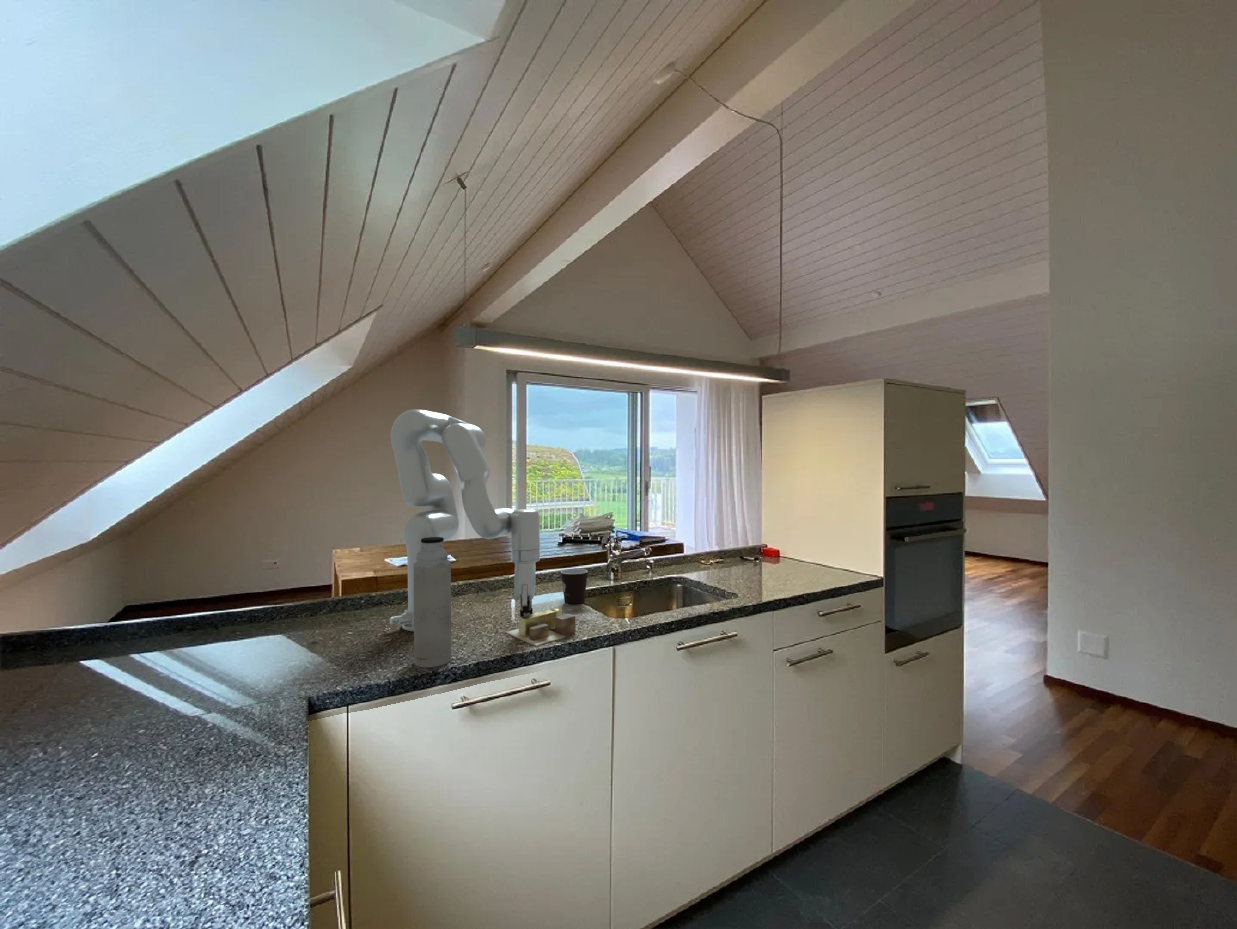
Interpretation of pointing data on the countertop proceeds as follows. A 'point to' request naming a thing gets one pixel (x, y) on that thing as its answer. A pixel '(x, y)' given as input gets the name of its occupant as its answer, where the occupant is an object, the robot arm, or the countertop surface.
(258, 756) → the countertop surface
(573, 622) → the block
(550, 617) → the lock bar
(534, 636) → the block
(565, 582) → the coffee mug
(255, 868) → the countertop surface
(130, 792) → the countertop surface
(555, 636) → the beige square plate
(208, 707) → the countertop surface
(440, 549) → the thermos bottle
